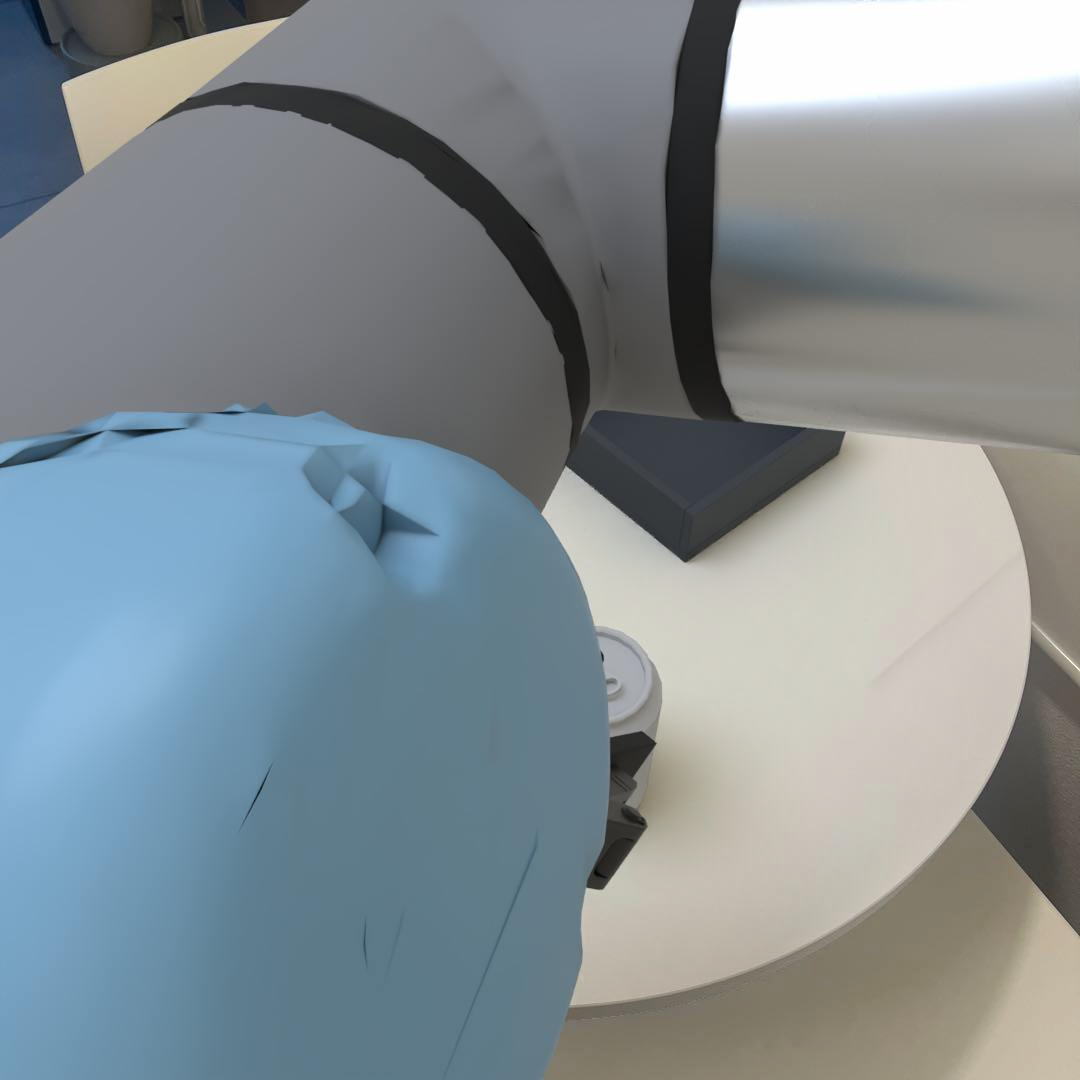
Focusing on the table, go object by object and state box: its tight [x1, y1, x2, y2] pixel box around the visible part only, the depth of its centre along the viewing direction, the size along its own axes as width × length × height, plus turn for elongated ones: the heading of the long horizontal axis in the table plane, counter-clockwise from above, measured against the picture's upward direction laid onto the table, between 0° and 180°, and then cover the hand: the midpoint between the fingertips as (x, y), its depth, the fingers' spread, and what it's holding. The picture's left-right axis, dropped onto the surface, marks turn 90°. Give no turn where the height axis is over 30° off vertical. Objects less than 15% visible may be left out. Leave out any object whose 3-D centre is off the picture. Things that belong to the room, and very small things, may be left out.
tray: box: [565, 410, 847, 563], centre depth 81 cm, size 18×18×5 cm
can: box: [595, 625, 663, 810], centre depth 58 cm, size 8×8×12 cm
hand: (505, 659), depth 42 cm, fingers open, 13 cm apart
